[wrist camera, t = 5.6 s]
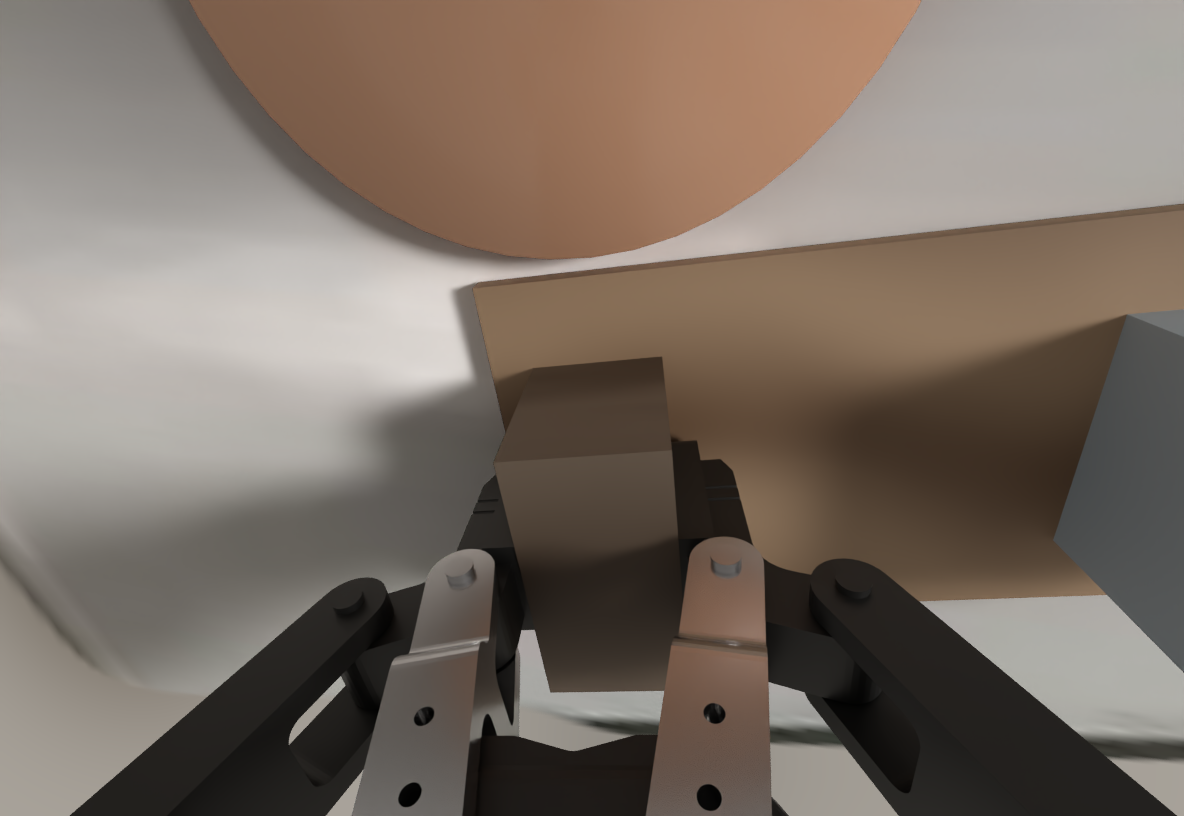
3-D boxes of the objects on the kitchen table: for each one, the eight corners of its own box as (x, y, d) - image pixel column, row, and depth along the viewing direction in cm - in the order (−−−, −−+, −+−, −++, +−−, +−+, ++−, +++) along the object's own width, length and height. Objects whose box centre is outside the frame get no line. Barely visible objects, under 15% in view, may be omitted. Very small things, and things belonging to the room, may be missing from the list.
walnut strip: (477, 282, 12) (403, 358, 8) (1671, 149, 10) (2380, 170, 6) (549, 600, 17) (522, 747, 13) (1377, 570, 14) (1661, 743, 10)
